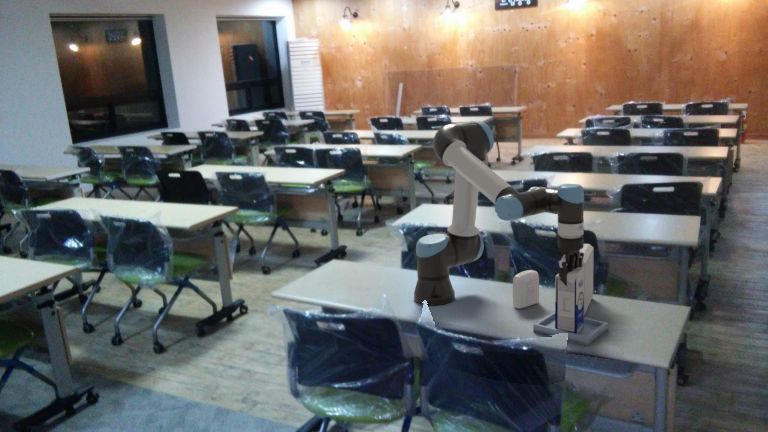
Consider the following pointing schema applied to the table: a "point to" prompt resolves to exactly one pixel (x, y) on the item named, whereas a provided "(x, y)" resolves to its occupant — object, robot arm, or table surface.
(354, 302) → the table surface
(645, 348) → the table surface
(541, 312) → the table surface
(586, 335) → the tray
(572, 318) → the milk carton
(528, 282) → the photo printer
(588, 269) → the bevelled white case
